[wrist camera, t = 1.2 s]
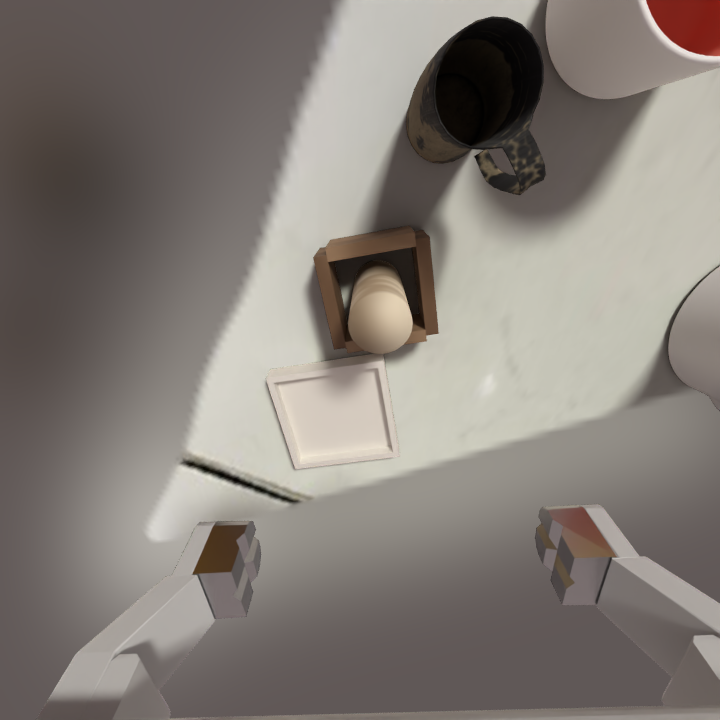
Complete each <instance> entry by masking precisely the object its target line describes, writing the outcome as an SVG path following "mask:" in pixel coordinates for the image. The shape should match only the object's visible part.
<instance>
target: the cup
mask: <svg viewBox="0 0 720 720" xmlns="http://www.w3.org/2000/svg"><path fill="white" fill-rule="evenodd" d="M546 40H547V46H548V51H549V54H550V57H551V60H552V63H553V65H554V67H555V69H556V71H557V72H558V74H559V75H560V77H561V78H562V79H563V80H564V81H565V83H566V84H568V85H569V86H570V87H571V88H572V89H574V90H575V91H577V92H579V93H581V94H583V95H585V96H588V97H592V98H596V99H617V98H623V97H626V96H630V95H633V94H637V93H640V92H643V91H646V90H649V89H652V88H656V87H659V86H662V85H665V84H668V83H671V82H675V81H678V80H681V79H684V78H687V77H690V76H694V75H697V74H700V73H703V72H706V71H709V70H713V69H716V68H719V67H720V0H548V4H547V12H546Z"/></svg>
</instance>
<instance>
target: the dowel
mask: <svg viewBox="0 0 720 720" xmlns="http://www.w3.org/2000/svg"><path fill="white" fill-rule="evenodd" d="M412 325H413V321H412V315H411V312H410V308H409V305H408V302H407V298H406V295H405V292H404V288H403V285H402V281H401V278H400V275H399V273H398V271H397V269H396V268H395V267H394V266H393V265H392V264H390V263H388V262H386V261H382V260H374V261H370V262H368V263H366V264H364V265H363V266H362V267H361V268H360V269H359V270H358V272H357V274H356V277H355V281H354V288H353V294H352V301H351V307H350V314H349V320H348V328H349V332H350V335H351V337H352V339H353V341H354V342H355V343H356V344H357V345H358V346H359V347H360V348H362V349H363V350H365V351H367V352H370V353H375V354H385V353H390V352H393V351H395V350H397V349H398V348H400V347H401V346H402V345H403V344H404V343H405V342H406V341H407V340H408V338H409V336H410V334H411V331H412Z"/></svg>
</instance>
